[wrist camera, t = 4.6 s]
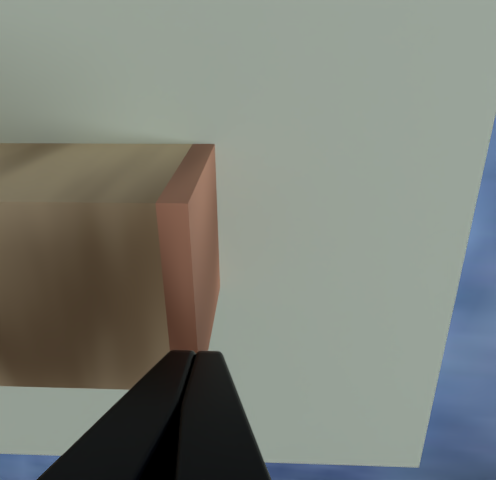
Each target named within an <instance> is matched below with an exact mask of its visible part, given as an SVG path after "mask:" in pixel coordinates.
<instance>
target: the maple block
mask: <svg viewBox="0 0 496 480" xmlns="http://www.w3.org/2000/svg"><path fill="white" fill-rule="evenodd" d="M219 291H220V270H219V243H218V217H217V190H216V163H215V144H80V143H0V386H13V387H49V388H86V389H122V390H130V389H131V388H132V387H133V386H134V385H135V384H136V383H137V382H138V381H139V380H140V379H141V378H142V377H143V376H144V375H145V374H146V373H147V372H148V371H149V370H150V369H151V368H152V367H154V366H155V365H156V364H157V363H158V362H159V361H160V360H161V359H162V358H163V357H164V356H165V355H166V354H167V353H168V352H169V351H171V350H193V351H194V352H195V353H197V352H198V351H208V349H209V343H210V338H211V333H212V328H213V322H214V317H215V312H216V307H217V301H218V296H219Z"/></svg>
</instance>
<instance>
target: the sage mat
mask: <svg viewBox="0 0 496 480" xmlns="http://www.w3.org/2000/svg"><path fill="white" fill-rule="evenodd" d="M495 114H496V0H0V143H80V144H215V163H216V190H217V217H218V243H219V270H220V291H219V296H218V301H217V307H216V312H215V317H214V322H213V328H212V333H211V338H210V343H209V349H208V351H220V352H221V353H222V354H223V356H224V358H225V361H226V364H227V366H228V369H229V371H230V374H231V377H232V379H233V382H234V384H235V387H236V390H237V392H238V395H239V397H240V400H241V402H242V405H243V408H244V410H245V413H246V415H247V418H248V421H249V423H250V426H251V428H252V431H253V434H254V436H255V439H256V441H257V444H258V447H259V449H260V452H261V454H262V457H263V459H264V462H269V463H299V464H329V465H359V466H389V467H419V464H420V459H421V455H422V450H423V445H424V441H425V436H426V432H427V427H428V422H429V418H430V413H431V409H432V404H433V399H434V395H435V390H436V386H437V381H438V376H439V372H440V367H441V363H442V358H443V353H444V349H445V344H446V340H447V335H448V330H449V326H450V321H451V317H452V312H453V307H454V303H455V298H456V294H457V289H458V284H459V280H460V275H461V271H462V266H463V261H464V257H465V252H466V248H467V243H468V238H469V234H470V229H471V224H472V220H473V215H474V211H475V206H476V201H477V197H478V192H479V188H480V183H481V178H482V174H483V169H484V165H485V160H486V155H487V151H488V146H489V142H490V137H491V132H492V128H493V123H494V119H495ZM128 391H129V390H122V389H86V388H49V387H13V386H0V454H28V455H58V456H62V455H63V454H64V453H65V452H66V451H67V450H68V449H69V448H70V447H71V446H72V445H73V444H74V443H75V442H76V441H77V440H78V439H79V438H80V437H81V436H82V435H83V434H84V433H85V432H86V431H87V430H89V429H90V428H91V427H92V426H93V425H94V424H95V423H96V422H97V421H98V420H99V419H100V418H101V417H102V416H103V415H104V414H105V413H106V412H107V411H108V410H109V409H110V408H111V407H112V406H113V405H114V404H115V403H116V402H117V401H118V400H119V399H121V398H122V397H123V396H124V395H125V394H126V393H127V392H128Z"/></svg>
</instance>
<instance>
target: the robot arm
mask: <svg viewBox="0 0 496 480" xmlns="http://www.w3.org/2000/svg"><path fill="white" fill-rule="evenodd" d="M37 480H271V478H270V475H269V472H268V470H267V467H266V465H265V462H264V459H263V457H262V454H261V452H260V449H259V447H258V444H257V441H256V439H255V436H254V434H253V431H252V428H251V426H250V423H249V421H248V418H247V415H246V413H245V410H244V408H243V405H242V402H241V400H240V397H239V395H238V392H237V390H236V387H235V384H234V382H233V379H232V377H231V374H230V371H229V369H228V366H227V364H226V361H225V358H224V356H223V354H222V353H221V352H220V351H198V352H197V353H195V352H194V351H193V350H171V351H169V352H168V353H167V354H166V355H165V356H164V357H163V358H162V359H161V360H160V361H159V362H158V363H157V364H156V365H155V366H154V367H152V368H151V369H150V370H149V371H148V372H147V373H146V374H145V375H144V376H143V377H142V378H141V379H140V380H139V381H138V382H137V383H136V384H135V385H134V386H133V387H132V388H131V389H130V390H129V391H128V392H127V393H126V394H125V395H124V396H123V397H122V398H121V399H119V400H118V401H117V402H116V403H115V404H114V405H113V406H112V407H111V408H110V409H109V410H108V411H107V412H106V413H105V414H104V415H103V416H102V417H101V418H100V419H99V420H98V421H97V422H96V423H95V424H94V425H93V426H92V427H91V428H90V429H89V430H87V431H86V432H85V433H84V434H83V435H82V436H81V437H80V438H79V439H78V440H77V441H76V442H75V443H74V444H73V445H72V446H71V447H70V448H69V449H68V450H67V451H66V452H65V453H64V454H63V455H62V456H61V457H60V458H59V459H58V460H57V461H55V462H54V463H53V464H52V465H51V466H50V467H49V468H48V469H47V470H46V471H45V472H44V473H43V474H42V475H41V476H40V477H39V478H38V479H37Z"/></svg>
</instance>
